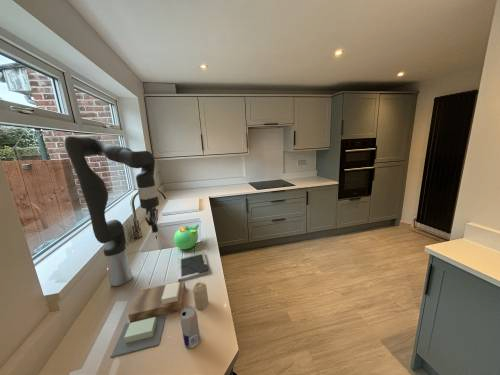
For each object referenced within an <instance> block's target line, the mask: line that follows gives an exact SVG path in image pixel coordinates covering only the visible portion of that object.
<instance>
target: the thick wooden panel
mask: <svg viewBox="0 0 500 375" xmlns="http://www.w3.org/2000/svg"><path fill="white" fill-rule="evenodd" d="M166 285H167V284H164V285H159V286H153V287H149V288H145V289H140V290H138V292H137V294H136V297H135V298H134V301H133V303H132V305H131V308H130V310H129V311H128V314H127V316H128V320H129V323H130V322H134V321H138V320H142V319H147V318H151V317H155V316H160V315H164V314H166V316H167V315H171V314H176V313H181V311H182V310H183V309H184V304H185V303H184V301H185V295H186V290H187V288H186V280H184V281H180V291H179V297H178V301H176V302H171V303H167V304H162V296H163V293H164V289H165V286H166Z"/></svg>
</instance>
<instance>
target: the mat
mask: <svg viewBox="0 0 500 375" xmlns="http://www.w3.org/2000/svg"><path fill="white" fill-rule="evenodd" d="M155 317H156V326H155V330H154V333H153V336H151V337H147V338H144V339H140V340H136V341H132V342H128V343H125V339H124V336H125V334H126V332H127V329H128V327H129V325H130V323H133V322H130V321H129V322H126V323H125V324H124V326H123V328H122V331H121V333H120V334H119V338H118V339H117V341H116V345H115V346H114V348H113V350H112V352H111V355H110V358H114V357H115V358H116V357H118V356H122V354H123V355H127V354H130V353H129V352H131V353H134V352H137V350H138V351H141V349H142V350H144V349H145V350H146V349H149V348H153V347H157V346H159V345H160V341H161V337H162V333H163V331H164V330H163V329H164V324H165V320H166V317H167V315H166V314H164V315H160V316H155ZM151 318H154V317H151ZM147 319H150V318H147ZM142 320H145V319H142ZM138 321H141V320H138ZM134 322H137V321H134ZM133 351H134V352H133ZM126 353H127V354H126Z"/></svg>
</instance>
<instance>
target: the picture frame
mask: <svg viewBox="0 0 500 375" xmlns="http://www.w3.org/2000/svg"><path fill="white" fill-rule="evenodd" d="M207 261H208V260H207V257H206V254H205V252H201V253H197V254H193V255H188V256H183V257H180V258H178V259H177V282H182V281H187V280H191V279H194V278H197V277H201V276H206V275H208V274H210V270H209V265H208V262H207Z"/></svg>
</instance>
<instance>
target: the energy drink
mask: <svg viewBox="0 0 500 375" xmlns="http://www.w3.org/2000/svg"><path fill="white" fill-rule="evenodd" d="M179 320H180V322H179V323H180V327H181V331H182V337H183V342H184V346H185V348H186V349H195V348H196V347H197V346H198V345H199V344H200V342H201V334H200V327H199V322H198V315H197V311H196V307H192V306H187V307H184V308H183V310H182V311H180V312H179Z"/></svg>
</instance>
